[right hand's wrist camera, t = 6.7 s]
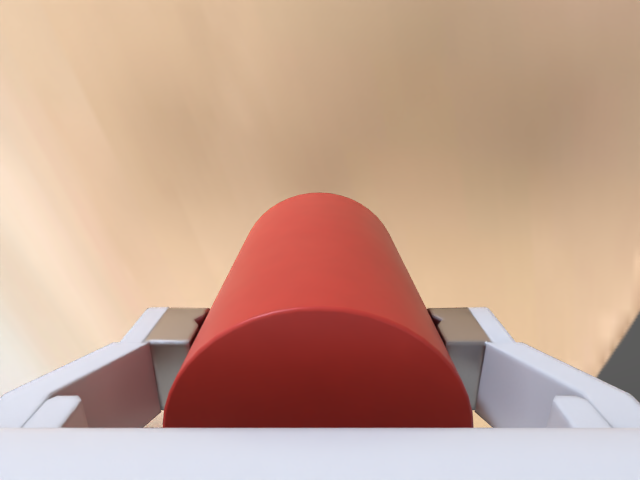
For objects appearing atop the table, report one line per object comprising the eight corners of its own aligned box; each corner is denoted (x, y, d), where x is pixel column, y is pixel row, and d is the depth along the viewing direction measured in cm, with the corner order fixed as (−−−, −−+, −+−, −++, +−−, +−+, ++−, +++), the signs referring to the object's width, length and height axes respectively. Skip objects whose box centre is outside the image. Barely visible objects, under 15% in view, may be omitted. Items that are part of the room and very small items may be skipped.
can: (210, 252, 14) (94, 419, 7) (336, 159, 13) (356, 240, 6) (304, 357, 15) (291, 584, 8) (424, 281, 14) (529, 468, 7)
